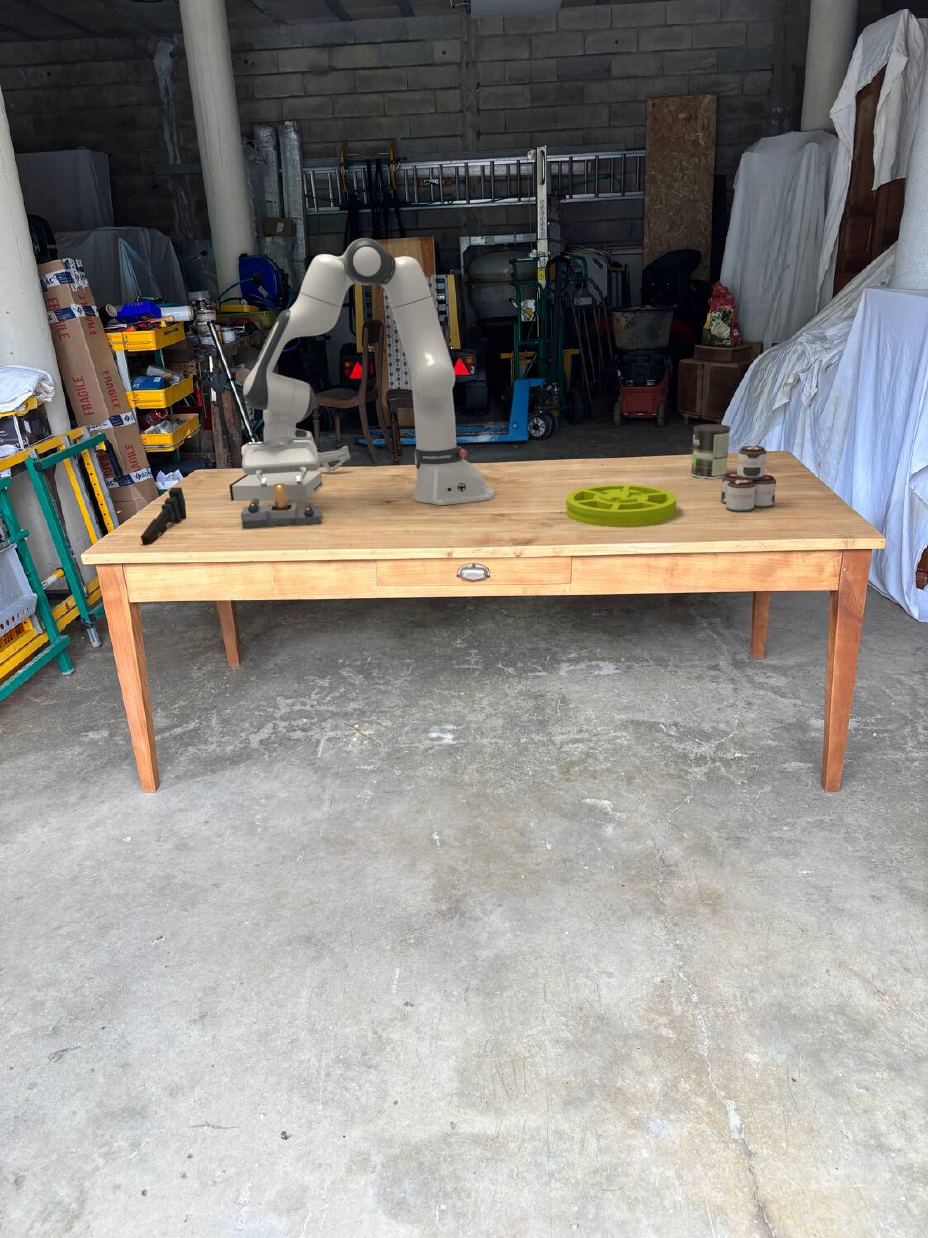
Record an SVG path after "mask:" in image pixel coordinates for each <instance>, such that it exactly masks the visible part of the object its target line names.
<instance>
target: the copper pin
mask: <svg viewBox="0 0 928 1238" xmlns="http://www.w3.org/2000/svg"><path fill="white" fill-rule="evenodd" d="M273 490H274V499H275V500H274V505H275V507H276V510H288V504H289V503H288V500H287V493H286V485H285V484H274V485H273Z"/></svg>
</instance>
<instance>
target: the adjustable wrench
mask: <svg viewBox="0 0 928 1238" xmlns="http://www.w3.org/2000/svg"><path fill="white" fill-rule="evenodd" d="M168 495H169V497H166V498H165V500H164V503H163V504H161V511H160V513H159V514H158V515H157V517H156V518H153V519H152V521H151V522H150V524H149V525H148V526H147V527H146V529H145V531H143V533H142V534H141V536H140V539H141V543H142V545H143V546H144V545H146V544H150V545H152V544H153V543H154V541H155V540H156V539H157V538H158V536H159V535H160V534H161V533H164V532H165V531H166V530H167V528H168V525H169V523H173V524H174V522H177V523H182V522H181V521H182V520H187V509H186V508H187V507H186V500H185V497H184V493H183V488H182V487H179V486H178V487H177V486H176V487H171V488H170V489H169V490H168ZM150 545H149V546H150ZM146 546H147V545H146Z"/></svg>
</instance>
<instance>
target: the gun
mask: <svg viewBox="0 0 928 1238" xmlns="http://www.w3.org/2000/svg"><path fill="white" fill-rule="evenodd" d="M349 451H350V450H349V448H348V445H344V446H342V447H341V448H340V449H338V450H332V451H331V450H330V451H325V452H318V457H319V463H320V467H319V469H320V468H326V470H327V473H328V474H329V473H331V471H333V472H335V471H336V470H338V468H340V467H342V465H343V464H344V463H345V462H346V461H347V460H350V459H351V455H350V452H349ZM335 461H339V462H337V463H335V465H334V466H330V464H329V462H335ZM331 474H332V473H331Z"/></svg>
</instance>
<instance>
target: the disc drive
mask: <svg viewBox="0 0 928 1238" xmlns="http://www.w3.org/2000/svg"><path fill="white" fill-rule="evenodd" d="M300 474H301V472H287V473H272V474H262V478H266V481H267V487H261V485H260V480H259V479H258V478H257V475H246V474H245V475H243V476H241V477H240V478H238V479H237V480H235V481H233V482H232V483H231V484H229V493H230V499H231V501H232V502H233V501H252V500H253V499H254V498H257V499H258V500H259V501H275V499H274V490H273V485H274V484H285V485H286V493H287V501H307V500H308V499H309V498H311V497H312V496H313V495H314V494H315V493H316V492H318V490H319V489H320V488H322V487H323V486H322V485H323V475H322V471H307V474H306V476H305V478H304V479H303V485H297V477H296V476H300ZM321 486H322V487H321ZM319 487H320V488H319ZM318 488H319V489H318ZM314 492H315V493H314ZM313 493H314V494H313ZM312 494H313V495H312Z"/></svg>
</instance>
